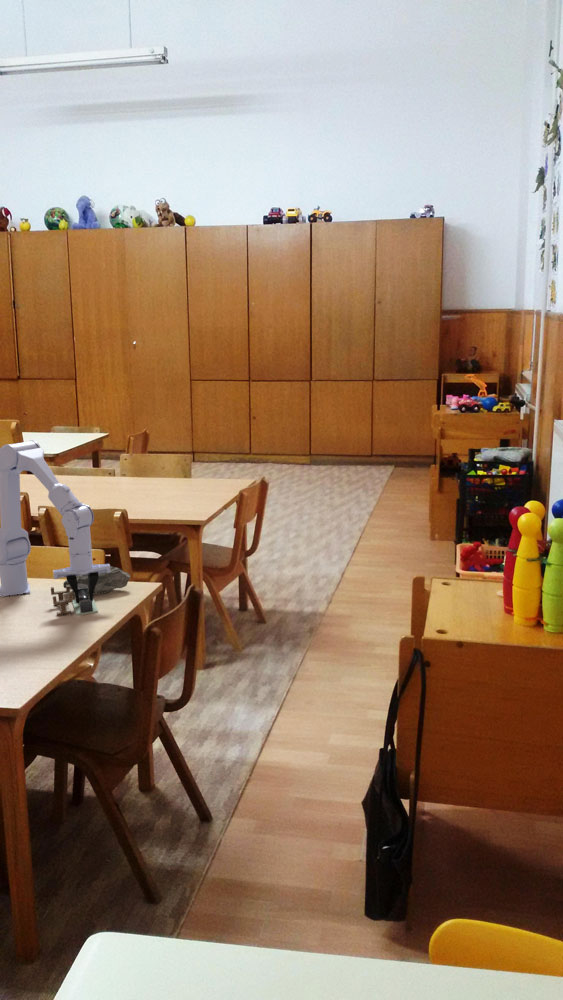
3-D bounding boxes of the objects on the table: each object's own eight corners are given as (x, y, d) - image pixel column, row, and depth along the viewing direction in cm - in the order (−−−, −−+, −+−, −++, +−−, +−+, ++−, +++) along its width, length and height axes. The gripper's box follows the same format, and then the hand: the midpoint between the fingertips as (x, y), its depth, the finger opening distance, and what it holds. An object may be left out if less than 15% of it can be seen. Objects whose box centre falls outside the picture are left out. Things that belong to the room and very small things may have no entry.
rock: (66, 593, 218) (62, 560, 222) (65, 607, 226) (61, 575, 230) (133, 586, 224) (128, 553, 228) (130, 599, 232) (125, 568, 236)
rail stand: (52, 605, 216) (50, 587, 215) (70, 602, 218) (69, 585, 217) (54, 616, 207) (53, 597, 206) (73, 613, 209) (72, 595, 208)
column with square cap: (76, 599, 219) (75, 588, 219) (87, 597, 220) (87, 587, 220) (81, 613, 208) (80, 601, 207) (92, 611, 209) (92, 600, 208)
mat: (72, 601, 219) (71, 599, 219) (92, 598, 221) (92, 597, 221) (76, 615, 208) (76, 613, 208) (98, 612, 210) (98, 610, 209)
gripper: (52, 558, 205) (57, 609, 208) (110, 552, 210) (114, 602, 212) (51, 552, 212) (55, 601, 214) (106, 546, 216) (110, 594, 219)
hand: (84, 601), depth 214 cm, fingers open, 3 cm apart
